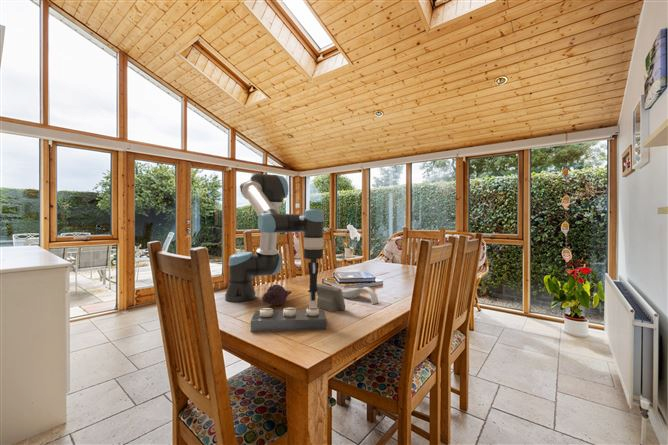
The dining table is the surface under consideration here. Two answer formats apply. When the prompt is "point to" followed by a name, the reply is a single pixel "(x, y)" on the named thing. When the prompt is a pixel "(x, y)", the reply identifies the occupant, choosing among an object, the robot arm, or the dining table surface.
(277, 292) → the pine cone
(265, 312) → the left knob
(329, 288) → the digital clock
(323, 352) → the dining table surface
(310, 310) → the right knob
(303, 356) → the dining table surface
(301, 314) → the knob plate
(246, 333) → the dining table surface
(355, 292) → the grey curved piece
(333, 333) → the dining table surface
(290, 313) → the middle knob
